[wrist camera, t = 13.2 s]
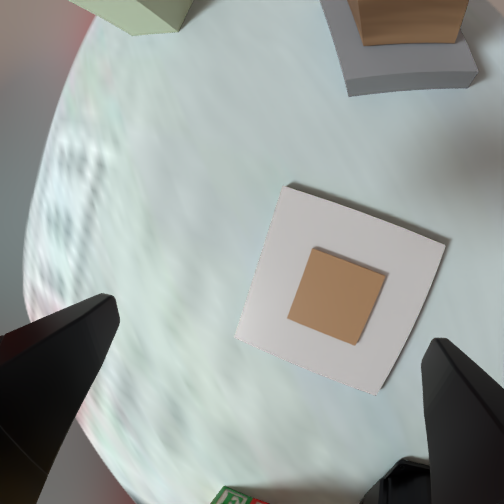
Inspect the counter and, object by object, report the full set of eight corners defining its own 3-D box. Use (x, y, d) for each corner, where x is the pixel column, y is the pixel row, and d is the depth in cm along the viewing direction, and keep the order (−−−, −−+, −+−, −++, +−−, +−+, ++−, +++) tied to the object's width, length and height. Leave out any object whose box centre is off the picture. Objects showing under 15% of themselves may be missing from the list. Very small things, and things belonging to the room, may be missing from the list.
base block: (465, 90, 14) (478, 71, 11) (349, 99, 17) (345, 79, 14) (425, -2, 13) (429, -27, 11) (321, 7, 16) (313, -18, 13)
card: (443, 244, 15) (447, 245, 14) (376, 391, 17) (375, 398, 16) (285, 186, 18) (281, 185, 17) (237, 334, 20) (231, 338, 19)
